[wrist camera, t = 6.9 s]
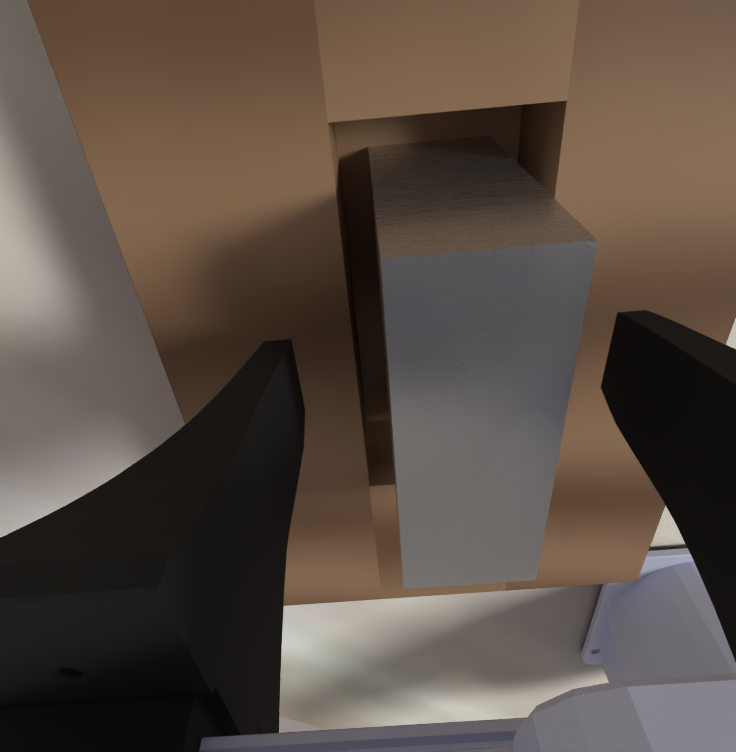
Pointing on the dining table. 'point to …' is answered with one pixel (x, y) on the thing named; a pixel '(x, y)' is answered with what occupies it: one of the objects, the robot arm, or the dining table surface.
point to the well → (356, 223)
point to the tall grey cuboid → (474, 353)
